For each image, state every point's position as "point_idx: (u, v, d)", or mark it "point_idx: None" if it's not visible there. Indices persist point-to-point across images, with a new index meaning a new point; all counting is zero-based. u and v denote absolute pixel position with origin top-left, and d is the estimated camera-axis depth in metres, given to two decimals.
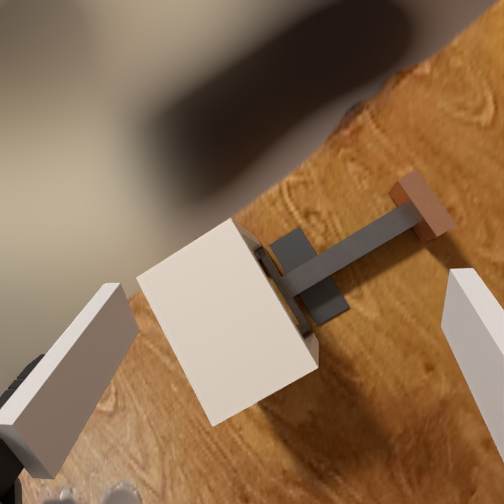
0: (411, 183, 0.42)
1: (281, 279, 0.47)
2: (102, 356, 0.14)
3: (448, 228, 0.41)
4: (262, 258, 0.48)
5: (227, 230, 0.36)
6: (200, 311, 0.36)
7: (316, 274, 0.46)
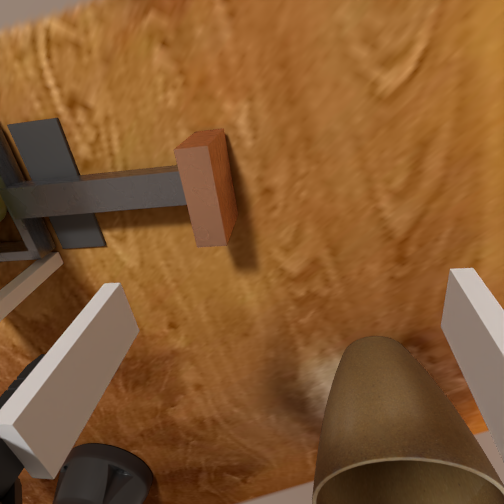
0: (192, 164, 0.26)
1: (3, 192, 0.33)
2: (102, 356, 0.14)
3: (214, 244, 0.29)
4: None
5: None
6: None
7: (52, 206, 0.33)
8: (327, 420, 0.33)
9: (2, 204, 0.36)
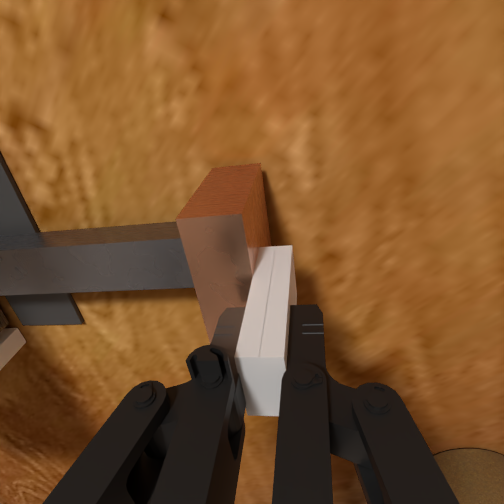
0: (210, 245, 0.14)
1: None
2: None
3: None
4: None
5: None
6: None
7: None
8: None
9: None
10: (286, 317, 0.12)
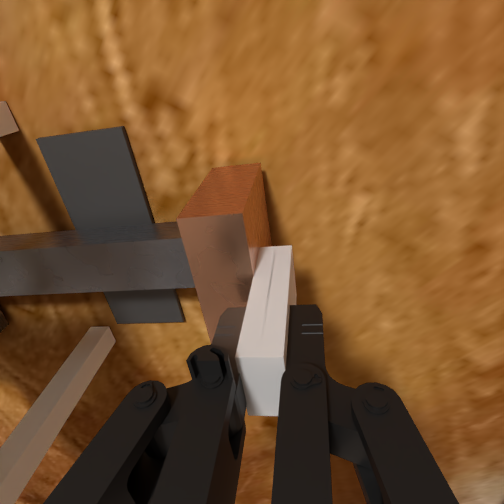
0: (211, 245, 0.14)
1: None
2: None
3: None
4: None
5: None
6: None
7: None
8: None
9: None
10: (285, 317, 0.12)
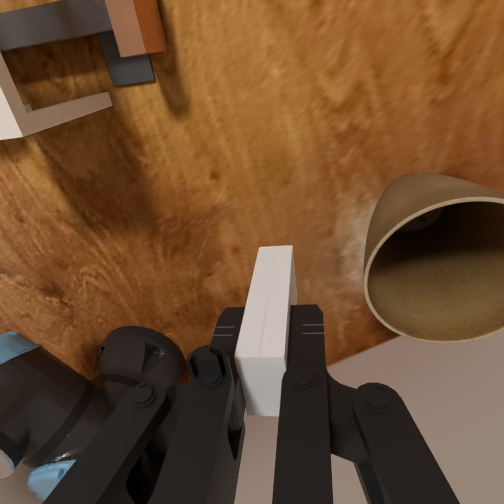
0: None
1: None
2: None
3: (135, 52, 0.33)
4: None
5: None
6: None
7: (0, 39, 0.37)
8: (374, 221, 0.34)
9: None
10: (286, 317, 0.12)
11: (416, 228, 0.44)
